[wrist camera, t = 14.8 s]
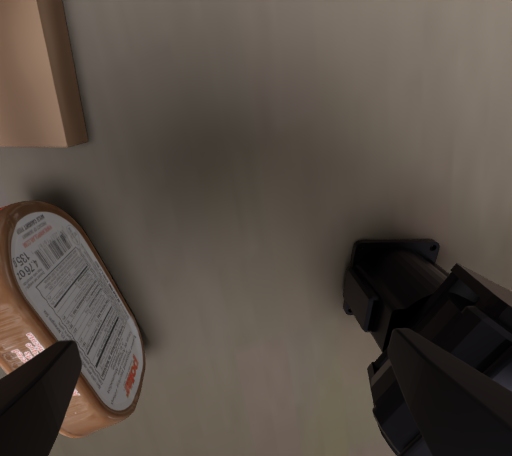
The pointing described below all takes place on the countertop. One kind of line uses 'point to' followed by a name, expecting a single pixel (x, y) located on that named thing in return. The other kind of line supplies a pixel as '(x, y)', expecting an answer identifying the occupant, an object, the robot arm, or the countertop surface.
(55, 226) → the tin
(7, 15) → the shelf board
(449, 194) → the countertop surface
